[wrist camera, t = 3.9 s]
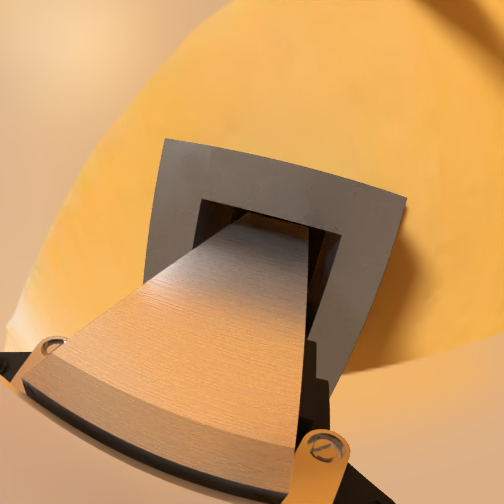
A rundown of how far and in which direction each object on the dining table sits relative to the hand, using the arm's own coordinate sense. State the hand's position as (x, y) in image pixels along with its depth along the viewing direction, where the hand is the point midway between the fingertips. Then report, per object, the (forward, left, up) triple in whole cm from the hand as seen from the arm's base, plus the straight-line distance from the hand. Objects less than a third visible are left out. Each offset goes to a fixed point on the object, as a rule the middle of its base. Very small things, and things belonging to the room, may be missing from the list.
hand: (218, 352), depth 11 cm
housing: (0, 0, -16) cm, 16 cm away
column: (0, 0, -15) cm, 15 cm away
